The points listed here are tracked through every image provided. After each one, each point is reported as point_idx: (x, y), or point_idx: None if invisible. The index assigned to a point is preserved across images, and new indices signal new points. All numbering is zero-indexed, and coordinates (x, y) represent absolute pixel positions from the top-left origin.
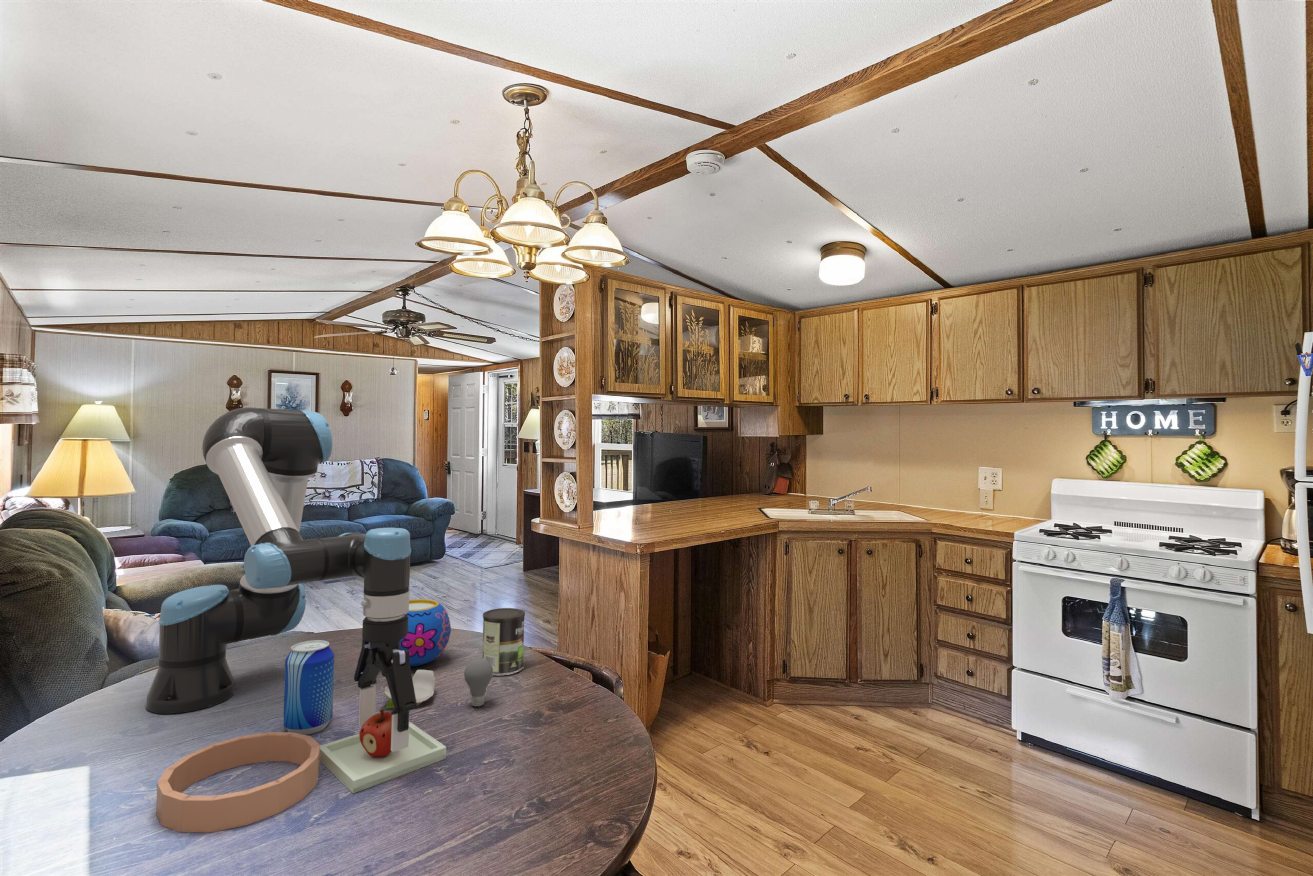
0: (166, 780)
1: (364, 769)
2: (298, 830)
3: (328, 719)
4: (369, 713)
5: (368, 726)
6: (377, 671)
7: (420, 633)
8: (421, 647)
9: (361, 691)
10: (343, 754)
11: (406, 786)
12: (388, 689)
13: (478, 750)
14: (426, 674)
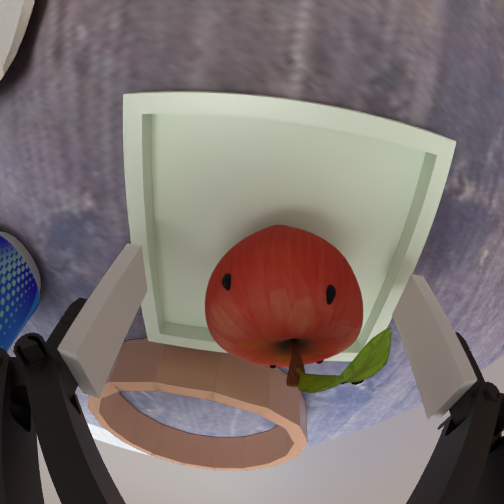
0: (182, 462)
1: None
2: (367, 399)
3: (17, 256)
4: (131, 288)
5: (281, 366)
6: (97, 477)
7: None
8: None
9: (99, 392)
10: (198, 305)
11: (439, 273)
12: None
13: (468, 51)
14: None
